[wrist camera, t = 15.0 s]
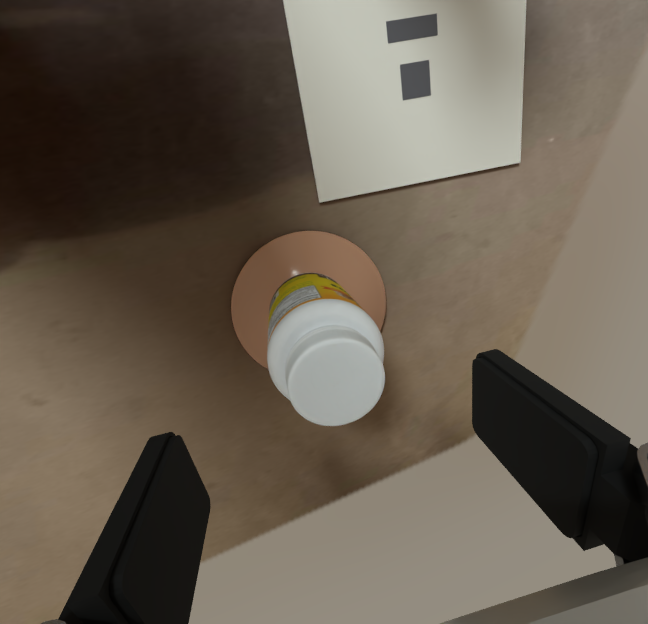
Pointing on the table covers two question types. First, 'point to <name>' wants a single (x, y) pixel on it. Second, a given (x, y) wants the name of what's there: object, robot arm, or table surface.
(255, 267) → the peach domed disc
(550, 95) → the table surface
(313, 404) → the supplement bottle
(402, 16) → the white flat square slab
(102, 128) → the table surface
